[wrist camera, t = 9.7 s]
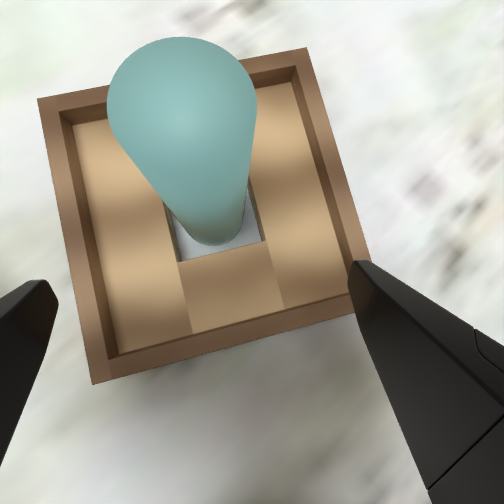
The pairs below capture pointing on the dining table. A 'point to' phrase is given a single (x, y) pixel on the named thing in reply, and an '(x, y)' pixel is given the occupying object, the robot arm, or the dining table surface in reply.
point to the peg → (188, 130)
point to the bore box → (214, 265)
